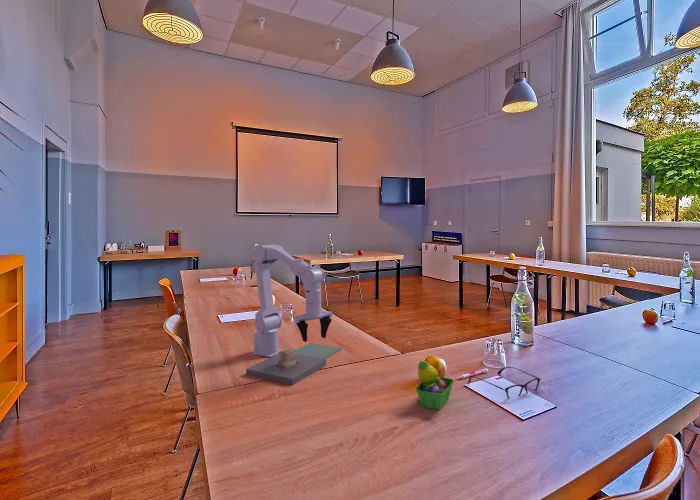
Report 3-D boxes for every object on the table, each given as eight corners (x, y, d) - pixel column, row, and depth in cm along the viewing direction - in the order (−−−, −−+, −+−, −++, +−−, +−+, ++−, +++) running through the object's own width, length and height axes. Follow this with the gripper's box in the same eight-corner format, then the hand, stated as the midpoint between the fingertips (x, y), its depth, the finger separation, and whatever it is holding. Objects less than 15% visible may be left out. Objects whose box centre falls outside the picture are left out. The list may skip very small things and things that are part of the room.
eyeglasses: (505, 402, 104) (505, 388, 104) (464, 383, 118) (464, 370, 118) (543, 390, 112) (543, 377, 111) (500, 373, 126) (500, 361, 125)
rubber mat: (286, 355, 147) (286, 353, 147) (310, 344, 161) (310, 342, 161) (320, 361, 139) (320, 359, 139) (341, 349, 153) (341, 347, 153)
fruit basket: (442, 413, 98) (441, 371, 97) (410, 405, 103) (410, 365, 102) (454, 396, 108) (454, 358, 107) (425, 390, 112) (425, 353, 112)
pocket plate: (246, 374, 128) (246, 368, 128) (283, 356, 145) (283, 351, 145) (292, 385, 118) (292, 378, 118) (326, 364, 136) (326, 359, 136)
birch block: (278, 371, 131) (277, 351, 130) (287, 366, 135) (287, 347, 135) (287, 373, 129) (286, 353, 128) (296, 368, 133) (295, 349, 133)
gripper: (300, 306, 127) (301, 345, 127) (336, 301, 135) (337, 338, 135) (291, 303, 132) (292, 340, 133) (326, 298, 140) (327, 334, 141)
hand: (314, 339), depth 135 cm, fingers open, 7 cm apart
